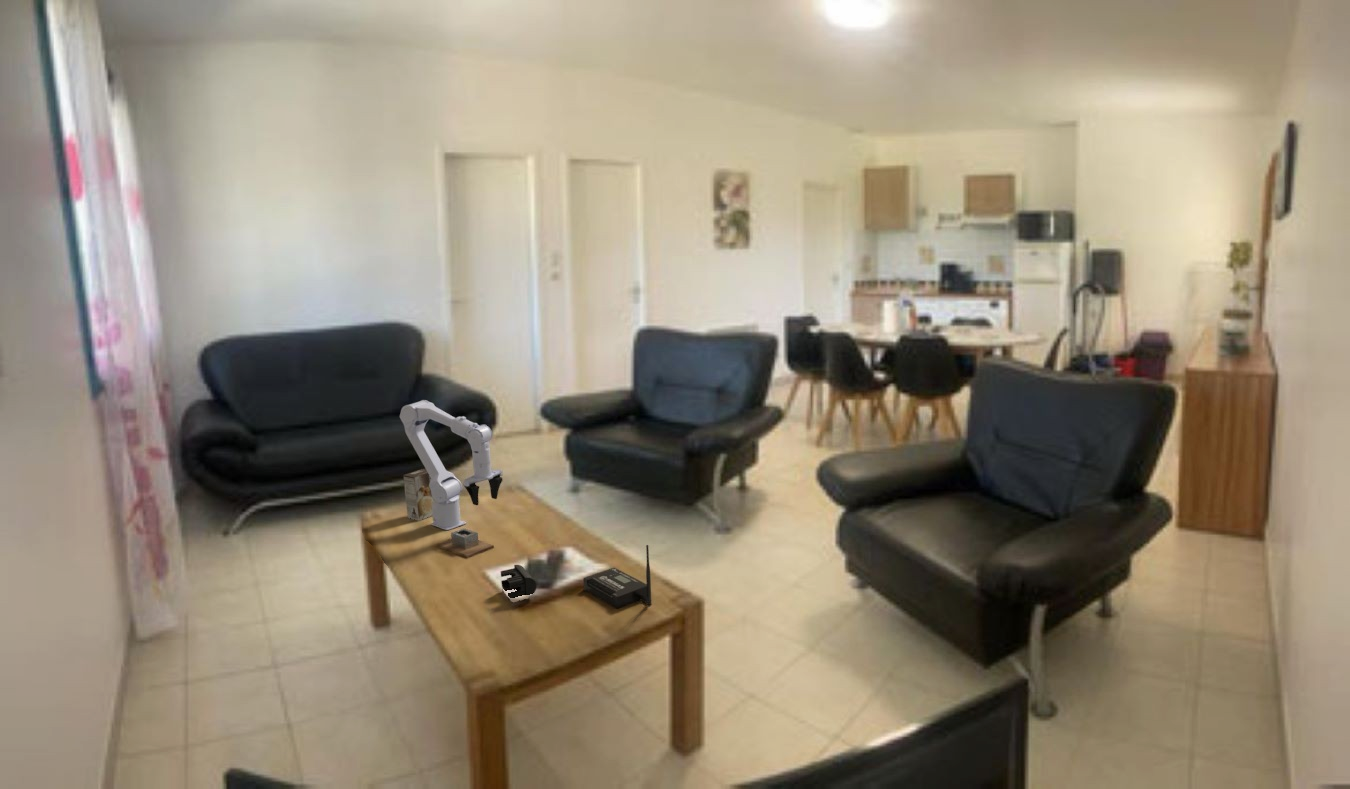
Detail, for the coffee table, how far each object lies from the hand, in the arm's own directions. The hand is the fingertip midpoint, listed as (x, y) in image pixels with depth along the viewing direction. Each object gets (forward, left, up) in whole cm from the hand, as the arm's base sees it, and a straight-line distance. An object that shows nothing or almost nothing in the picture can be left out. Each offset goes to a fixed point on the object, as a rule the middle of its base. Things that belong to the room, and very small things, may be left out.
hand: (485, 501), depth 266 cm
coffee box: (-30, -5, -10) cm, 32 cm away
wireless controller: (+71, -10, -11) cm, 72 cm away
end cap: (+48, -26, -10) cm, 55 cm away
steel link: (+7, -14, -9) cm, 18 cm away
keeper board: (+7, -14, -10) cm, 18 cm away
